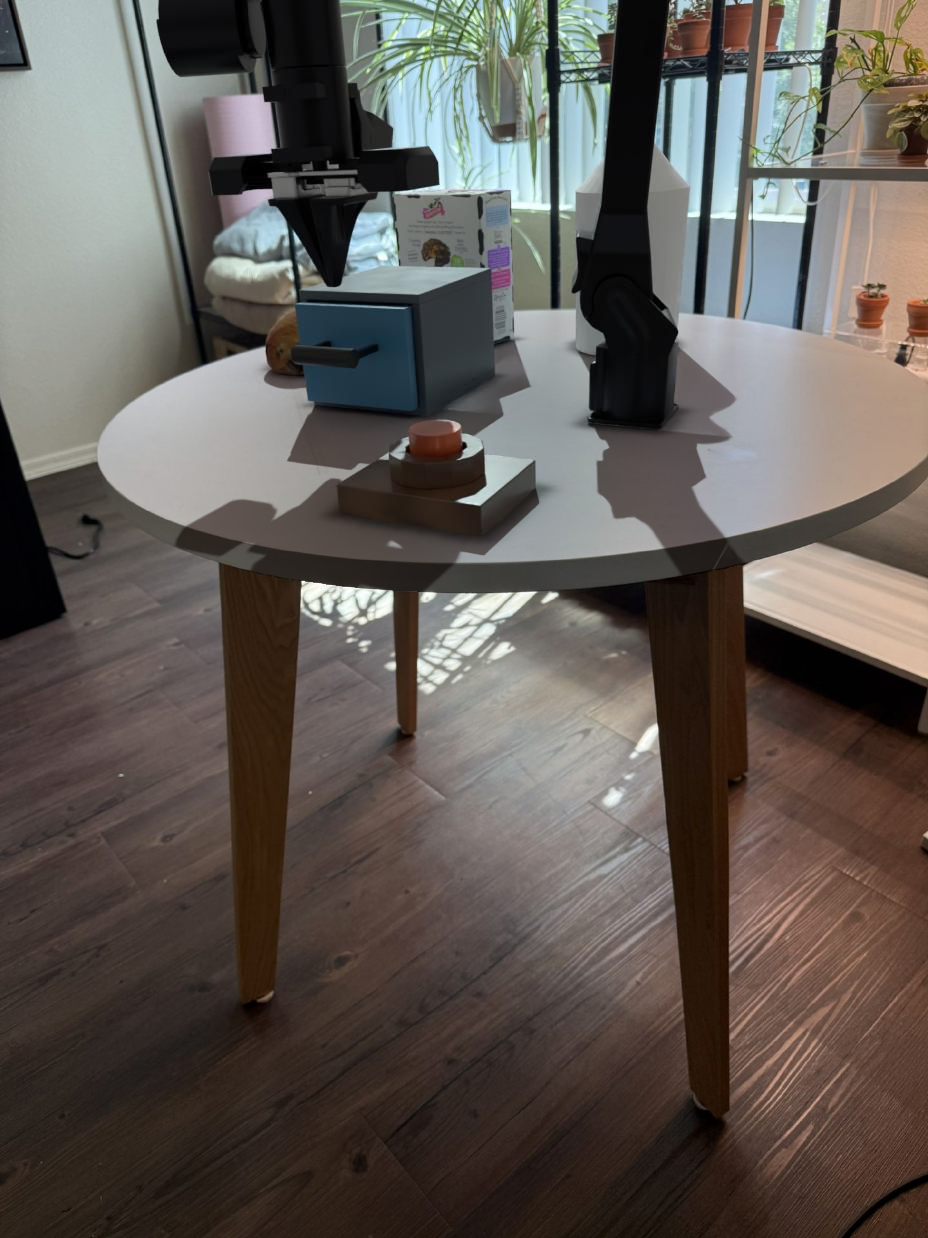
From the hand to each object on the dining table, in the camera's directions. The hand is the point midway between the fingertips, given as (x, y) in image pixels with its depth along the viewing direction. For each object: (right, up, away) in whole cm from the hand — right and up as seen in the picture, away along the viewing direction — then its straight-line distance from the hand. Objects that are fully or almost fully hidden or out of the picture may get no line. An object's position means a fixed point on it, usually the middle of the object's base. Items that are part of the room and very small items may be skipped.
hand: (334, 286), depth 74 cm
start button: (+9, -17, -14) cm, 24 cm away
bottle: (+29, +3, +26) cm, 40 cm away
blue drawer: (+3, -7, +10) cm, 12 cm away
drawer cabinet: (+5, -5, +14) cm, 16 cm away
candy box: (+10, +6, +34) cm, 36 cm away
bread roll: (-6, 0, +25) cm, 26 cm away
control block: (+9, -20, -12) cm, 25 cm away
